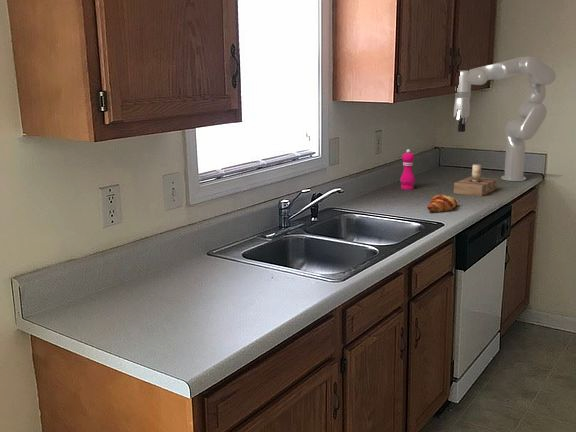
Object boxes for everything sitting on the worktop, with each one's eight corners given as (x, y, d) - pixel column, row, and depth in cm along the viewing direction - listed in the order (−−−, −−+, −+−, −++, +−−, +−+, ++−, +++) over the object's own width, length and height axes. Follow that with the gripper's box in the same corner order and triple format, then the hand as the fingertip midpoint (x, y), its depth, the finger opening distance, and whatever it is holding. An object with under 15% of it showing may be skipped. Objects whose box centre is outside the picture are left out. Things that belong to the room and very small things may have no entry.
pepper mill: (415, 189, 325) (416, 150, 320) (401, 190, 325) (402, 150, 320) (413, 187, 332) (414, 148, 327) (399, 187, 332) (400, 148, 327)
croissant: (450, 211, 293) (444, 195, 294) (468, 204, 286) (462, 187, 287) (423, 219, 279) (416, 202, 280) (441, 211, 272) (434, 194, 273)
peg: (473, 187, 322) (474, 163, 319) (481, 188, 319) (482, 164, 316) (469, 189, 318) (471, 165, 315) (478, 190, 316) (479, 165, 313)
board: (469, 186, 331) (470, 176, 330) (496, 189, 322) (497, 179, 321) (453, 193, 315) (454, 183, 314) (481, 196, 307) (482, 185, 306)
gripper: (461, 94, 336) (460, 129, 341) (449, 96, 325) (448, 132, 329) (475, 94, 332) (474, 130, 336) (464, 96, 320) (462, 133, 325)
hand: (461, 131), depth 333 cm, fingers closed
